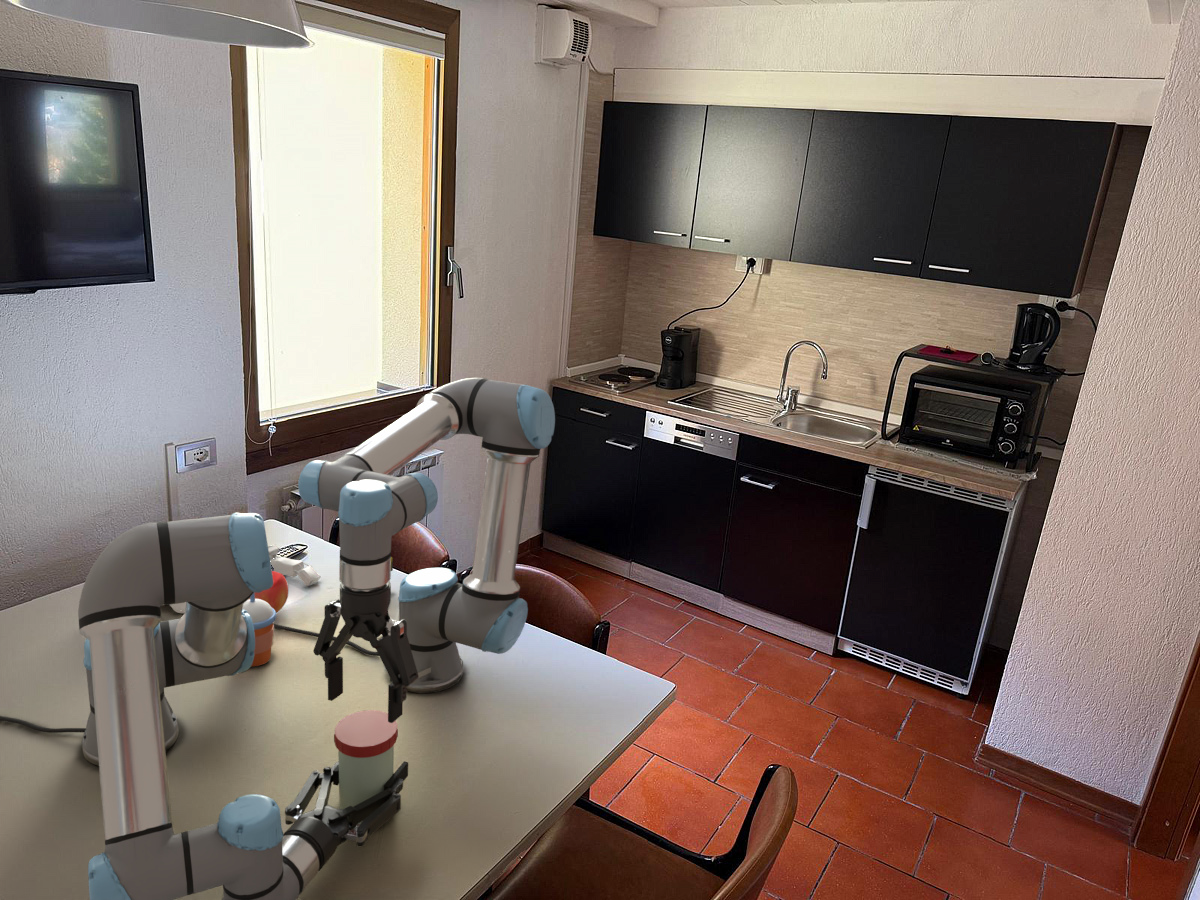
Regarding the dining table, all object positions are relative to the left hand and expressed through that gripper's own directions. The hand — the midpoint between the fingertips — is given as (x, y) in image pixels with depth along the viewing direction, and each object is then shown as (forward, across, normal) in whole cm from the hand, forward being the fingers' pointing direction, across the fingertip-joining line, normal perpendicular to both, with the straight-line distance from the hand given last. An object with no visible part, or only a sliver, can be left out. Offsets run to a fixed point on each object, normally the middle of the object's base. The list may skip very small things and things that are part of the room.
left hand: (381, 761), depth 145 cm
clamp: (+62, -64, -6) cm, 90 cm away
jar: (-5, 0, -6) cm, 8 cm away
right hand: (-5, 0, +14) cm, 15 cm away
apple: (+44, -56, -6) cm, 71 cm away
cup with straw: (+26, -46, -6) cm, 53 cm away
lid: (-5, 0, +9) cm, 10 cm away
